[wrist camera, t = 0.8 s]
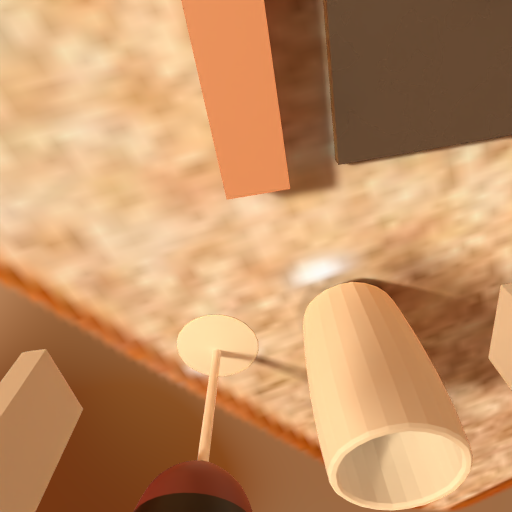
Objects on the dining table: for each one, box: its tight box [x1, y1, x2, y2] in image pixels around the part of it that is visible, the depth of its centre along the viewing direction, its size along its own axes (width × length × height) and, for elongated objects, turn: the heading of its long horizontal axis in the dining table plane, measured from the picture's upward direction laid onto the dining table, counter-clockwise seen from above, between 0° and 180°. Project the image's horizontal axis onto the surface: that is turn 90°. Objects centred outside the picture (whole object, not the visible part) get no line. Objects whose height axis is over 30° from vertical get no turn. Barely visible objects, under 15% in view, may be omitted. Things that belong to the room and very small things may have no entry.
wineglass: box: [134, 315, 258, 512], centre depth 26 cm, size 8×9×20 cm
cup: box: [303, 282, 473, 511], centre depth 27 cm, size 8×8×14 cm
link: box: [181, 0, 290, 199], centre depth 21 cm, size 19×7×4 cm, turn 10°
